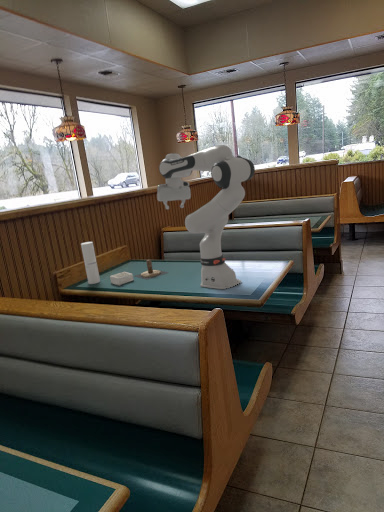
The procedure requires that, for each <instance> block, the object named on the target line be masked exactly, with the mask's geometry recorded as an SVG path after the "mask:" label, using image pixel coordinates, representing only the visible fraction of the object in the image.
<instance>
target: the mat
mask: <svg viewBox="0 0 384 512" xmlns="http://www.w3.org/2000/svg"><path fill="white" fill-rule="evenodd" d="M159 271H160V272H161V273H160V274H159V275H157V276H153V277H142V276H141V274H142V273H139V274H135V275H134V277H135V278H138V279H143V280H146V281H148V280H151V279H153V278H157V277H160V276H164V275H166V274H169V272H167V271H164V270H163V271H162V270H159Z"/></svg>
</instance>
